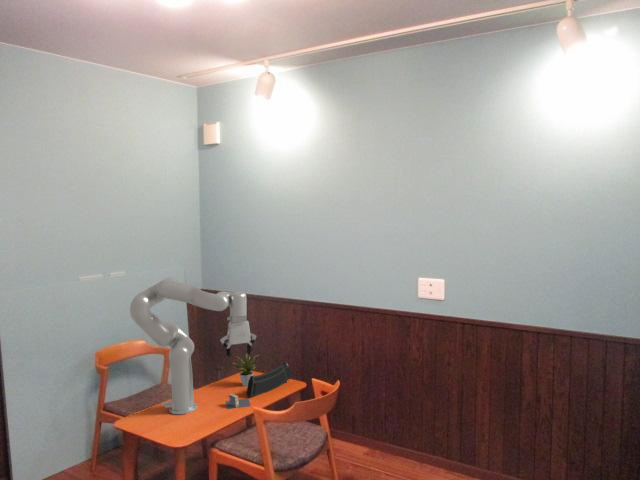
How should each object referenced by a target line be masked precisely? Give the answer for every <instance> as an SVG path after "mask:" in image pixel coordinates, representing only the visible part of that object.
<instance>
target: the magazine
mask: <svg viewBox="0 0 640 480" xmlns="http://www.w3.org/2000/svg"><path fill="white" fill-rule="evenodd" d="M292 377H293V374H292V369H291V368H290V367H289V364H288V363H287V362H286V361H283V362H282V363H281V364H279V366H277V367H275V368H273V369H272V370H269V371H267V372H265V373H262V374H259V375H253V376H250V379H249V381H248V386H246V387H247V388H246V396H247V397H248V398H250V397H255V396H257V395H259V396H260V395H262V394H265V393H268V392H270V391H273V390H275V389H277V388H279V387H281V386H282V385H283V384H285V383H287V382H288V381H289V380H290V379H291V378H292Z"/></svg>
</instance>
